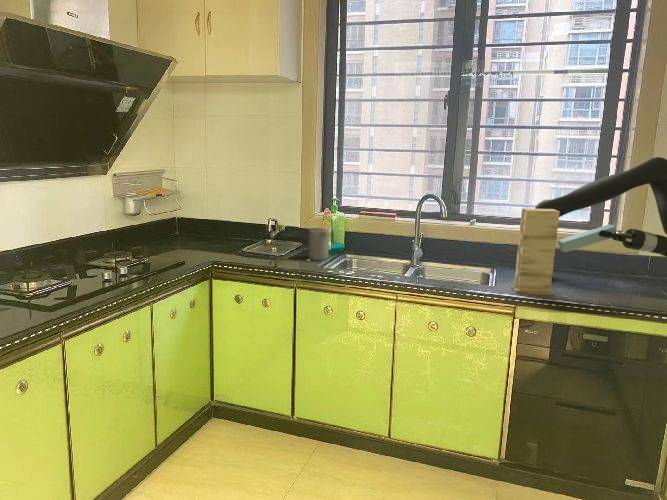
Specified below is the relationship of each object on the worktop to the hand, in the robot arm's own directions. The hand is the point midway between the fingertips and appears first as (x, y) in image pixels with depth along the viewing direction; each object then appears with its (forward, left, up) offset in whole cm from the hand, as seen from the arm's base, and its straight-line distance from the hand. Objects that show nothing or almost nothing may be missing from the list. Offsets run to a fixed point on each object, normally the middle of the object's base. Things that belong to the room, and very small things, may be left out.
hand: (597, 231), depth 198 cm
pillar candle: (-46, -108, -25) cm, 120 cm away
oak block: (-1, -21, -25) cm, 33 cm away
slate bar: (0, -3, -5) cm, 5 cm away
